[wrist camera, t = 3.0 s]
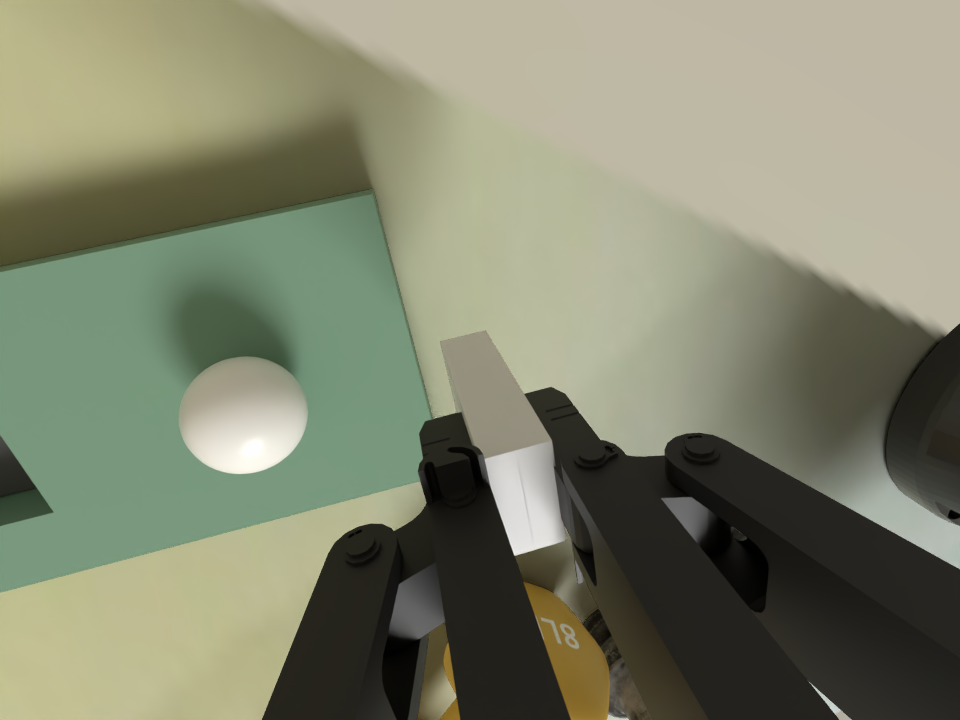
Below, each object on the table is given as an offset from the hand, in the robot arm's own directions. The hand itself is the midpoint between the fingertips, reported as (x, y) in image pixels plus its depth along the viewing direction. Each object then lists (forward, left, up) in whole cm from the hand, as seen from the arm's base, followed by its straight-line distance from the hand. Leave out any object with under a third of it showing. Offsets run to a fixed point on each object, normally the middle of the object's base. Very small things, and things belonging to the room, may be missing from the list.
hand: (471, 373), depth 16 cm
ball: (+8, 0, -2) cm, 8 cm away
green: (+14, 0, -6) cm, 15 cm away
